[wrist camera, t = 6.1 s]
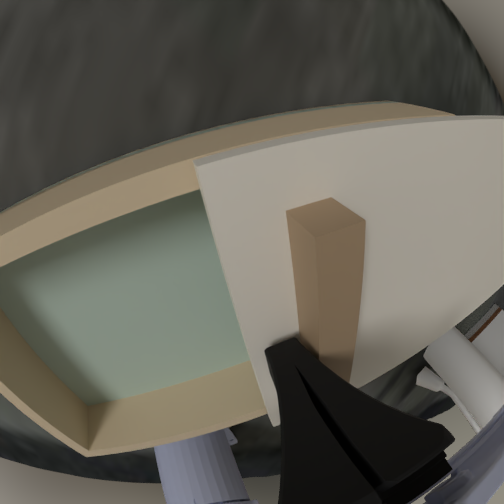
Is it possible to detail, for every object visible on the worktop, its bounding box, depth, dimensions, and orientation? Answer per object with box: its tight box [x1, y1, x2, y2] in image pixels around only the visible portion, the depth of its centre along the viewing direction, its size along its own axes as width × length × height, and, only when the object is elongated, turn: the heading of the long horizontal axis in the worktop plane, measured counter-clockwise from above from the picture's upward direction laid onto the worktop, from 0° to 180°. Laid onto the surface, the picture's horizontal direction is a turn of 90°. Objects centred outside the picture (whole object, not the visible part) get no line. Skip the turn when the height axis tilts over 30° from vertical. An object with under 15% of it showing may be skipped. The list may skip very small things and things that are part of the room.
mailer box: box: [0, 101, 455, 457], centre depth 14 cm, size 16×26×5 cm, turn 101°
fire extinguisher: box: [416, 326, 504, 434], centre depth 25 cm, size 7×12×25 cm, turn 151°
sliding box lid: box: [193, 116, 504, 427], centre depth 13 cm, size 16×26×3 cm, turn 101°
